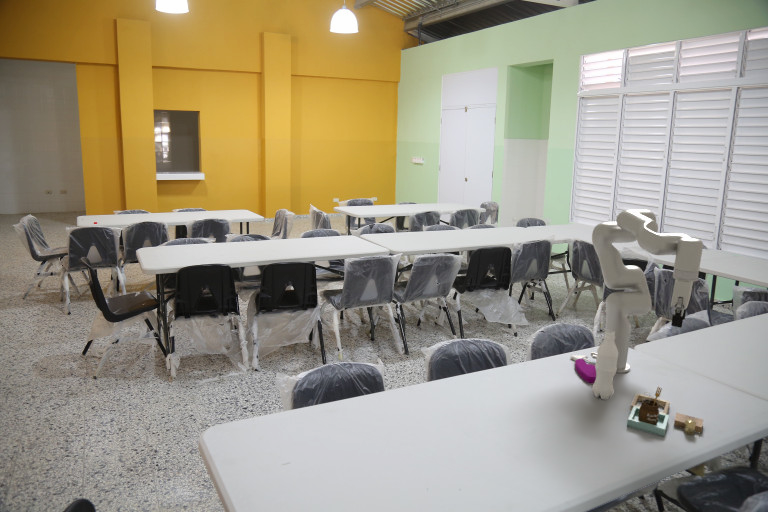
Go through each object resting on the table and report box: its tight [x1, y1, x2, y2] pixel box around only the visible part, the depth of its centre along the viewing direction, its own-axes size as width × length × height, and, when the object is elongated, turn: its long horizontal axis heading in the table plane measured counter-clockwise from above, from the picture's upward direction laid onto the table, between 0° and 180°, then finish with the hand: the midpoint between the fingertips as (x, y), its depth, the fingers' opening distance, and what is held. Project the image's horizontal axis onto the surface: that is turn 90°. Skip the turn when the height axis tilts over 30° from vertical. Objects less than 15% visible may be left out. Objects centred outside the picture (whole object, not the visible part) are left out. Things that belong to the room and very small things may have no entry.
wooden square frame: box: [629, 393, 671, 415], centre depth 200 cm, size 11×11×2 cm
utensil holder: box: [638, 386, 663, 425], centre depth 189 cm, size 6×6×12 cm
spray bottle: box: [570, 354, 596, 385], centre depth 231 cm, size 3×11×24 cm
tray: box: [626, 406, 670, 437], centre depth 190 cm, size 11×11×2 cm
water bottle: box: [592, 330, 618, 400], centre depth 206 cm, size 7×7×25 cm
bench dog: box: [683, 419, 696, 436], centre depth 185 cm, size 3×3×4 cm
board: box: [673, 412, 704, 434], centre depth 190 cm, size 8×6×2 cm
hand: (678, 322), depth 198 cm, fingers open, 9 cm apart
